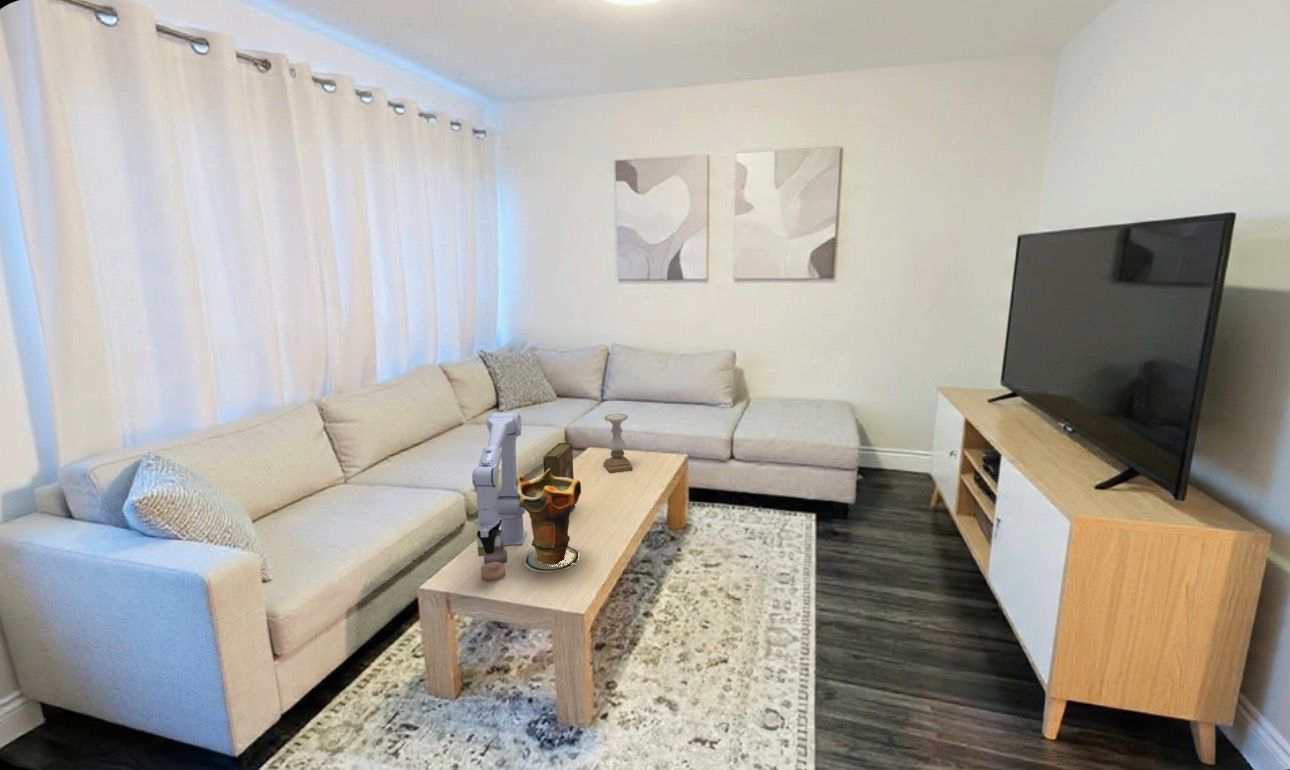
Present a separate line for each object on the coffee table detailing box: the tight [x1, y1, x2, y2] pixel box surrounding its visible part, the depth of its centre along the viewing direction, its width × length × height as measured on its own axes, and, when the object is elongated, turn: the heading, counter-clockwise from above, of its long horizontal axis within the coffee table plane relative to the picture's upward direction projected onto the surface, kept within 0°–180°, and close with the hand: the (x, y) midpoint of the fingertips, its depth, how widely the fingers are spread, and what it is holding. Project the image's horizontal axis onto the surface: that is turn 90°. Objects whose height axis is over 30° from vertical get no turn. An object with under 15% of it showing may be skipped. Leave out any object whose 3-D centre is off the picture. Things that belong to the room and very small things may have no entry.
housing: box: [476, 529, 504, 557], centre depth 178 cm, size 4×6×6 cm
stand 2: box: [480, 562, 507, 583], centre depth 179 cm, size 7×7×2 cm
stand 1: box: [483, 548, 508, 565], centre depth 188 cm, size 7×7×2 cm
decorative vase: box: [515, 468, 582, 574], centre depth 187 cm, size 21×23×28 cm
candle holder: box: [603, 413, 633, 474], centre depth 267 cm, size 11×11×24 cm
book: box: [543, 442, 576, 513], centre depth 219 cm, size 16×6×25 cm, turn 168°
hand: (491, 549), depth 178 cm, fingers closed on housing, 4 cm apart
